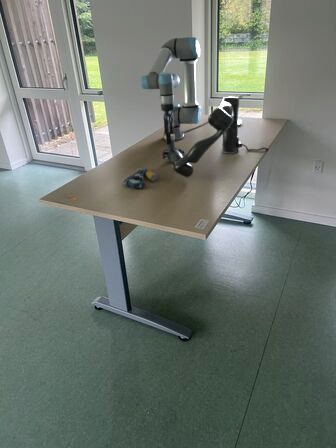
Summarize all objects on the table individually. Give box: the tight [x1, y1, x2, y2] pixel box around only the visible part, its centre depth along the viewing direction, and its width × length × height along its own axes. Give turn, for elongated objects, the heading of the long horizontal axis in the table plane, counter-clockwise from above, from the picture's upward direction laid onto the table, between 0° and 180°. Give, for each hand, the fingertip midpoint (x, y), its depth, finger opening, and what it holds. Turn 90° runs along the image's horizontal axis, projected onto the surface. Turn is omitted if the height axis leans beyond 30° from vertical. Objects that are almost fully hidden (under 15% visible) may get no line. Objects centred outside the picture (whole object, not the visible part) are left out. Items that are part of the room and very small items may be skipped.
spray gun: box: [123, 167, 158, 189], centre depth 183 cm, size 21×4×15 cm
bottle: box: [165, 140, 176, 163], centre depth 205 cm, size 5×5×15 cm
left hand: (170, 142), depth 203 cm, fingers open, 7 cm apart
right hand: (170, 149), depth 208 cm, fingers closed on bottle, 5 cm apart
